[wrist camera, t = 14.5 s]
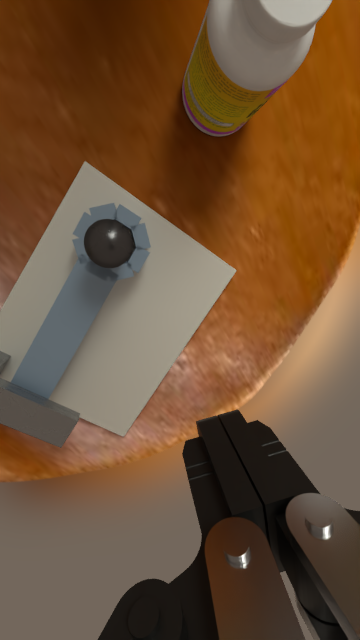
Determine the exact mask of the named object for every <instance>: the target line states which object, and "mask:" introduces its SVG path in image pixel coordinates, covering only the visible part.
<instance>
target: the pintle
mask: <svg viewBox="0 0 360 640" xmlns="http://www.w3.org/2000/svg"><path fill="white" fill-rule="evenodd" d="M84 248H85V251H86V253H87V255H88V257H89V258H90V259H91V260H92V261H93V262H94V263H95V264H97V265H99V266H101V267H104V268H116V267H119V266H121V265H123V264H124V263H125V262H126V261H127V260H128V259H129V257H130V255H131V253H132V249H133V241H132V237H131V234H130V232H129V231H128V229H127V228H126V227H125V226H124V225H123V224H121V223H120V222H118V221H116V220H112V219H101V220H98V221H96V222H94V223H93V224H92V225H90V227H89V228H88V229H87V231H86V233H85V236H84Z"/></svg>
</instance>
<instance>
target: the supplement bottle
mask: <svg viewBox="0 0 360 640" xmlns="http://www.w3.org/2000/svg"><path fill="white" fill-rule="evenodd" d="M331 2H332V0H210V1H209V4H208V7H207V10H206V13H205V16H204V19H203V22H202V25H201V28H200V31H199V34H198V37H197V40H196V43H195V46H194V48H193V51H192V54H191V57H190V60H189V63H188V66H187V69H186V72H185V75H184V79H183V86H182V96H183V103H184V107H185V110H186V112H187V114H188V116H189V118H190V120H191V121H192V122H193V124H194V125H195V126H196V127H197V128H198V129H199V130H201V131H202V132H204V133H206V134H209V135H212V136H227V135H230V134H232V133H234V132H236V131H237V130H239V129H240V128H241V127H242V126H243V125H244V124H245V123H246V122H247V121H248V120H249V119H250V118H251V117H252V116H253V115H254V114H255V113H256V112H257V111H258V110H259V109H260V108H261V107H262V106H263V105H264V104H265V103H266V102H267V101H268V99H270V98H271V96H272V95H273V94H274V93H275V92H276V91H277V90H278V89H279V88H280V87H281V86H282V85H283V84H284V83H285V82H286V81H287V80H288V79H289V78H290V77H291V76H292V75H293V74H294V73H295V71H296V70H297V69H298V68H299V66H300V65H301V64H302V62H303V60H304V59H305V57H306V55H307V53H308V51H309V48H310V45H311V43H312V39H313V36H314V31H315V25H316V23H317V22H318V20H319V19H320V18H321V17H322V16H323V14H324V13H325V12H326V10H327V9H328V7H329V6H330V4H331Z"/></svg>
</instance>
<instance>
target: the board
mask: <svg viewBox="0 0 360 640" xmlns="http://www.w3.org/2000/svg"><path fill="white" fill-rule="evenodd" d="M110 203H114V204H115V207H116V210H117V208H118V206H119V204H121V205H122V206H124V207H125V208H127V209H128V210H130V211H131V212H133V213H134V214H136V215H137V216H139V217H140V218H141V220H140V222H139V224H142V223H145V225H146V230H147V234H148V238H149V242H150V246H151V247H150V248H146V249H145V250H147V251H148V252H150V254H149V256H148V257H147V259H146V261H145V262H144V264H143V266H142V268H141V269H140V271H139V273H137V272H136V271H134V270H133V272H134V276H133V277H129V278H125V279H121V280H117V281H116V282H115V284H114V286H113V288H112V289H111V291H110V293H109V295H108V296H107V298H106V300H105V302H104V303H103V305H102V307H101V309H100V310H99V312H98V314H97V315H96V317H95V319H94V321H93V322H92V324H91V326H90V328H89V329H88V331H87V333H86V335H85V336H84V338H83V340H82V342H81V343H80V345H79V347H78V348H77V350H76V352H75V354H74V355H73V357H72V359H71V361H70V362H69V364H68V366H67V368H66V369H65V371H64V373H63V375H62V376H61V378H60V380H59V382H58V383H57V385H56V387H55V388H54V390H53V392H52V394H51V395H50V397H49V400H51V401H54V402H56V403H58V404H60V405H62V406H65V407H67V408H69V409H71V410H74V411H76V412H78V413H80V416H79V417H80V418H82V419H84V420H86V421H89V422H91V423H93V424H96V425H98V426H100V427H102V428H105V429H107V430H109V431H111V432H114V433H116V434H118V435H120V436H123V437H124V436H125V434H126V433H127V431H128V430H129V428H130V427H131V425H132V424H133V422H134V421H135V420H136V418H137V417H138V415H139V414H140V412H141V411H142V409H143V408H144V406H145V405H146V403H147V402H148V400H149V399H150V397H151V396H152V394H153V393H154V392H155V390H156V389H157V387H158V386H159V384H160V383H161V381H162V380H163V378H164V377H165V375H166V374H167V372H168V371H169V369H170V368H171V366H172V365H173V364H174V362H175V361H176V359H177V358H178V356H179V355H180V353H181V352H182V350H183V349H184V347H185V346H186V344H187V343H188V341H189V340H190V338H191V337H192V336H193V334H194V333H195V331H196V330H197V328H198V327H199V325H200V324H201V322H202V321H203V319H204V318H205V316H206V315H207V313H208V312H209V310H210V309H211V308H212V306H213V305H214V303H215V302H216V300H217V299H218V297H219V296H220V294H221V293H222V291H223V290H224V288H225V287H226V285H227V284H228V282H229V281H230V279H231V278H232V277H233V275H234V274H235V272H236V271H237V270H235V269H234V268H233V267H231V266H230V265H228V264H227V263H226V262H224V261H223V260H221V259H220V258H219V257H217V256H216V255H215V254H213V253H212V252H210V251H209V250H208V249H206V248H205V247H203V246H202V245H201V244H199V243H198V242H197V241H195V240H194V239H192V238H191V237H190V236H188V235H187V234H185V233H184V232H183V231H181V230H180V229H179V228H177V227H176V226H174V225H173V224H172V223H170V222H169V221H167V220H166V219H165V218H163V217H162V216H160V215H159V214H158V213H156V212H155V211H154V210H152V209H151V208H149V207H148V206H147V205H145V204H144V203H142V202H141V201H140V200H138V199H137V198H136V197H134V196H133V195H131V194H130V193H129V192H127V191H126V190H124V189H123V188H122V187H120V186H119V185H118V184H116V183H115V182H113V181H112V180H111V179H109V178H108V177H106V176H105V175H104V174H102V173H101V172H99V171H98V170H97V169H95V168H94V167H93V166H91V165H90V164H88V163H87V162H86V161H85V162H84V164H83V165H82V167H81V169H80V171H79V172H78V174H77V176H76V178H75V180H74V181H73V183H72V185H71V187H70V188H69V190H68V192H67V194H66V195H65V197H64V199H63V201H62V203H61V204H60V206H59V208H58V210H57V211H56V213H55V215H54V217H53V218H52V220H51V222H50V224H49V225H48V227H47V229H46V231H45V233H44V234H43V236H42V238H41V240H40V241H39V243H38V245H37V247H36V248H35V250H34V252H33V254H32V256H31V257H30V259H29V261H28V263H27V264H26V266H25V268H24V270H23V271H22V273H21V275H20V277H19V278H18V280H17V282H16V284H15V286H14V287H13V289H12V291H11V293H10V294H9V296H8V298H7V300H6V301H5V303H4V305H3V307H2V308H1V310H0V351H2V352H4V353H6V354H8V355H10V356H11V357H10V359H9V361H8V362H7V364H6V366H5V367H4V369H3V371H2V372H1V374H0V378H2V379H4V380H7V381H9V382H11V380H12V379H13V377H14V375H15V373H16V371H17V369H18V368H19V366H20V364H21V362H22V360H23V359H24V357H25V355H26V353H27V351H28V349H29V348H30V346H31V344H32V342H33V340H34V338H35V337H36V335H37V333H38V331H39V329H40V327H41V326H42V324H43V322H44V320H45V318H46V316H47V315H48V313H49V311H50V309H51V307H52V306H53V304H54V302H55V300H56V298H57V296H58V295H59V293H60V291H61V289H62V287H63V285H64V284H65V282H66V280H67V278H68V276H69V274H70V273H71V271H72V269H73V267H74V265H75V264H76V262H77V260H78V256H77V253H76V250H75V247H74V244H73V241H72V240H73V239H77V238H78V237H77V236H75V235H73V232H74V230H75V228H76V226H77V225H78V223H79V221H80V219H81V217H82V215H83V213H84V212H86V213H88V214H89V215H91V213H90V210H89V208H92V207H97V206H101V205H106V204H110ZM127 229H128V228H127ZM128 231H129V232H130V234H131V237H132V241H133V249H132V252H133V250H134V249H135V243H134V240H133V236H132V232H131V230H129V229H128ZM131 254H132V253H131ZM130 256H131V255H130ZM127 261H128V260H127Z"/></svg>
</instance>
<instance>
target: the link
mask: <svg viewBox="0 0 360 640" xmlns="http://www.w3.org/2000/svg"><path fill="white" fill-rule="evenodd" d="M89 210H90V213H91V215H89V214H88V213H86V212H84V213H83V215H82V217H81V219H80V221H79V223H78V225H77V226H76V228H75V230H74V232H73V235H75V236H77V237H78V238H77V239H73V240H72V241H73V244H74V247H75V250H76V253H77V256H78V260H77V262H76V264H75V265H74V267H73V269H72V271H71V273H70V274H69V276H68V278H67V280H66V282H65V284H64V285H63V287H62V289H61V291H60V293H59V295H58V296H57V298H56V300H55V302H54V304H53V306H52V307H51V309H50V311H49V313H48V315H47V316H46V318H45V320H44V322H43V324H42V326H41V327H40V329H39V331H38V333H37V335H36V337H35V338H34V340H33V342H32V344H31V346H30V348H29V349H28V351H27V353H26V355H25V357H24V359H23V360H22V362H21V364H20V366H19V368H18V369H17V371H16V373H15V375H14V377H13V379H12V380H11V383H13V384H15V385H18V386H20V387H22V388H24V389H27V390H29V391H31V392H33V393H36V394H38V395H40V396H42V397H45V398H47V399H49V397H50V395H51V394H52V392H53V390H54V388H55V387H56V385H57V383H58V382H59V380H60V378H61V376H62V375H63V373H64V371H65V369H66V368H67V366H68V364H69V362H70V361H71V359H72V357H73V355H74V354H75V352H76V350H77V348H78V347H79V345H80V343H81V342H82V340H83V338H84V336H85V335H86V333H87V331H88V329H89V328H90V326H91V324H92V322H93V321H94V319H95V317H96V315H97V314H98V312H99V310H100V309H101V307H102V305H103V303H104V302H105V300H106V298H107V296H108V295H109V293H110V291H111V289H112V288H113V286H114V284H115V282H116V281H117V280H121V279H125V278H129V277H133V276H134V272H133V270H134V271H136V272H137V273H139V271H140V269H141V268H142V266H143V264H144V262H145V261H146V259H147V257H148V256H149V254H150V252H148V251H147V250H145V249H146V248H150V247H151V246H150V242H149V238H148V234H147V230H146V225H145V223H142V224H139V222H140V220H141V218H140V217H139V216H137V215H136V214H134V213H133V212H131V211H130V210H128V209H127V208H125V207H124V206H122V205H121V204H119V206H118V208H117V210H116V207H115V204H114V203H110V204H106V205H101V206H97V207H92V208H89ZM101 219H112V220H116V221H118V222H120V223H121V224H123V225H124V226H125V227H126V228H128V229H129V230H131V232H132V236H133V240H134V243H135V249H134V250H133V252H132V254H131V256H130V257H129V259H128V261H126V262H125V263H124V264H123V265H121V266H119V267H116V268H104V267H101V266H99V265H97V264H95V263H94V262H93V261H92V260H91V259H90V258H89V257H88V255H87V253H86V251H85V248H84V236H85V233H86V231H87V229H88V228H89V227H90V225H92V224H93V223H94V222H96V221H98V220H101Z"/></svg>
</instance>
